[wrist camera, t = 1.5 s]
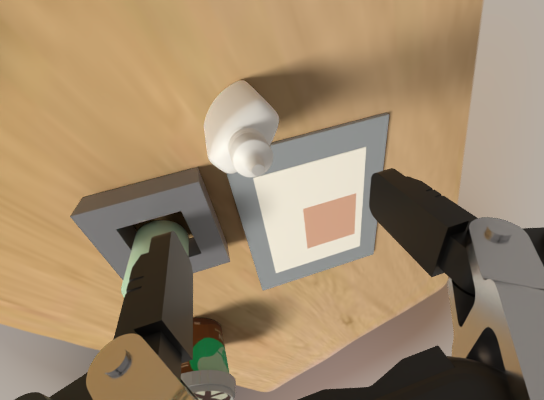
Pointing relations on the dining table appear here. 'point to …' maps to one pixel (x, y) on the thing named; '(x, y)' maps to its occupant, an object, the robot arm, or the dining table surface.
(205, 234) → the button housing
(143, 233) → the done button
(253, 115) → the eye dropper bottle
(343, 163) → the sketch board
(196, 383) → the food container
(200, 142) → the dining table surface
